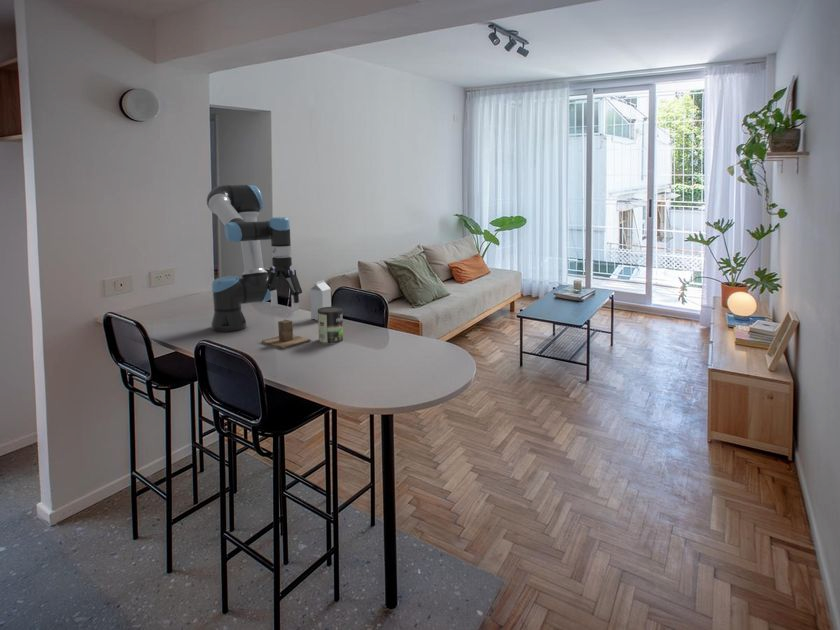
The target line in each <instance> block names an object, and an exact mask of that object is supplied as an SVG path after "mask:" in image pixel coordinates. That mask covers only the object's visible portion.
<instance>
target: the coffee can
mask: <svg viewBox="0 0 840 630" xmlns="http://www.w3.org/2000/svg"><path fill="white" fill-rule="evenodd" d="M343 310H344V309H343V308H342V307H339V306H331V307H323V308H319V309H318V320H317V322H318V341H319V343H321V344H324V345H334V344H339V343H342V342H343V341H344V329H343V328H344V327H343V326H344V324H343V323H344V322H343Z"/></svg>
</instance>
